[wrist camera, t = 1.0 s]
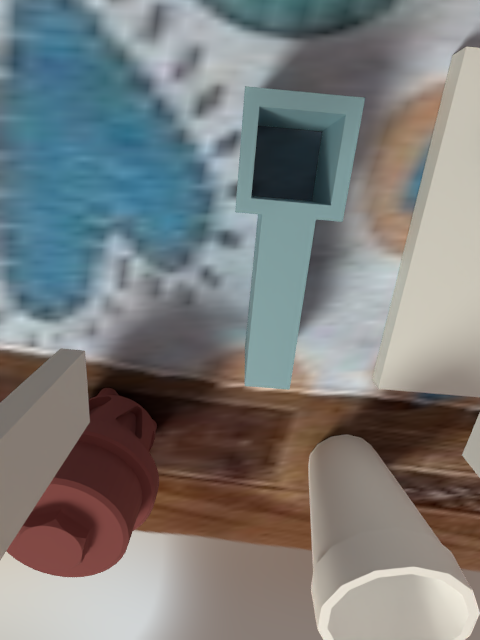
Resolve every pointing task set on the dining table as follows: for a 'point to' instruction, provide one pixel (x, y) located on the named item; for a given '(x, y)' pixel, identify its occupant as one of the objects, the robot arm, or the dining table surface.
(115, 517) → the mechanical component
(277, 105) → the link
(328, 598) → the foam cup
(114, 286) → the dining table surface
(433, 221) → the board
